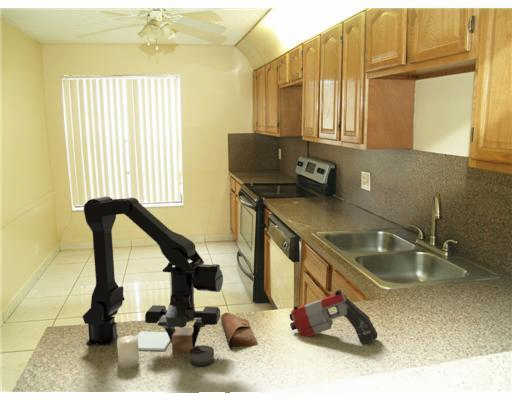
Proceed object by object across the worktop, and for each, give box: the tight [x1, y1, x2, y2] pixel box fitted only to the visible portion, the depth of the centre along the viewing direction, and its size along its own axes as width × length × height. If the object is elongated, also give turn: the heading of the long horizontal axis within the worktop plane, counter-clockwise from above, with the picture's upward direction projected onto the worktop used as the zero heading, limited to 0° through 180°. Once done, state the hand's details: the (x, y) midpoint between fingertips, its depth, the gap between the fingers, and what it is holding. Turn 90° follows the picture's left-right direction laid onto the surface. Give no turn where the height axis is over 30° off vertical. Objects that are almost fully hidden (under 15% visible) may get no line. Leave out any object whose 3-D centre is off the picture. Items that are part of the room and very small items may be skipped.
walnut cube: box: [171, 327, 197, 355], centre depth 117 cm, size 5×5×5 cm
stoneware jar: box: [116, 335, 140, 369], centre depth 110 cm, size 5×5×6 cm
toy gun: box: [289, 289, 378, 344], centre depth 125 cm, size 5×22×15 cm, turn 73°
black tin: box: [189, 345, 215, 369], centre depth 111 cm, size 6×6×3 cm
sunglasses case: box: [220, 312, 259, 349], centre depth 128 cm, size 18×7×7 cm, turn 12°
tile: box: [135, 331, 171, 352], centre depth 122 cm, size 10×10×1 cm
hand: (184, 345), depth 118 cm, fingers closed on walnut cube, 5 cm apart
